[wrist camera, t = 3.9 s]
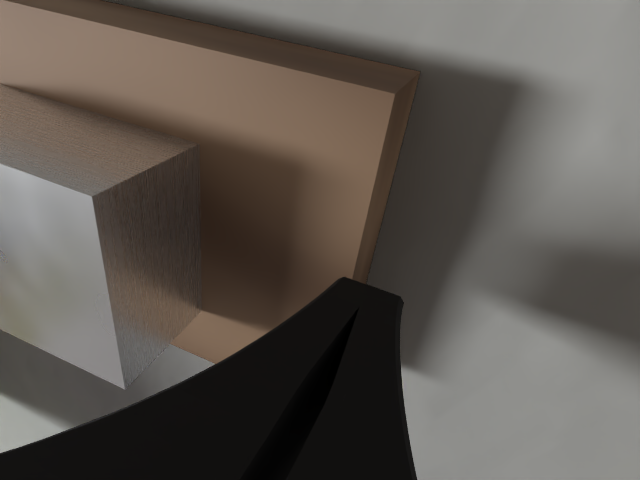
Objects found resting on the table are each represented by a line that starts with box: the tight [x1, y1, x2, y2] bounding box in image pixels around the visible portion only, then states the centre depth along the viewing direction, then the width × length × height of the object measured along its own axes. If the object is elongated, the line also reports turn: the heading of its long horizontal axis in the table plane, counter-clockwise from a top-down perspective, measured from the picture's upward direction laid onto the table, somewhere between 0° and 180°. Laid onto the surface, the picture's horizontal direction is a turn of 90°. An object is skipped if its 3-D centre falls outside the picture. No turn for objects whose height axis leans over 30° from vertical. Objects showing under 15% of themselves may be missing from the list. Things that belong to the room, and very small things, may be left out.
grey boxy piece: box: [0, 84, 202, 389], centre depth 10 cm, size 5×6×3 cm
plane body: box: [0, 0, 420, 364], centre depth 13 cm, size 9×18×2 cm, turn 82°
